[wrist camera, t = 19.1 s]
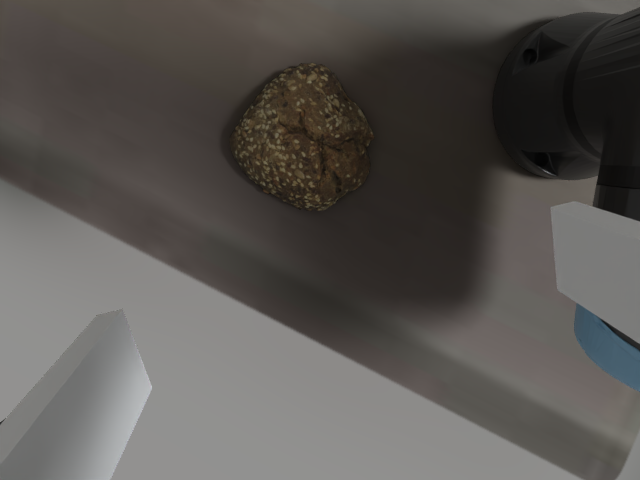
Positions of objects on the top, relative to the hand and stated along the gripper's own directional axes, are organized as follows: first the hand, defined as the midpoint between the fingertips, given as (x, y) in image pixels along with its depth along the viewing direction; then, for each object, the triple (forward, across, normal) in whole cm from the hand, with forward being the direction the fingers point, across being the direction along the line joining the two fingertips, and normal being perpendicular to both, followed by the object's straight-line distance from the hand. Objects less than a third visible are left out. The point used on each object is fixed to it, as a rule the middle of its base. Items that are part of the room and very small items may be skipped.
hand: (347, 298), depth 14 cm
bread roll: (+33, +1, +2) cm, 33 cm away
